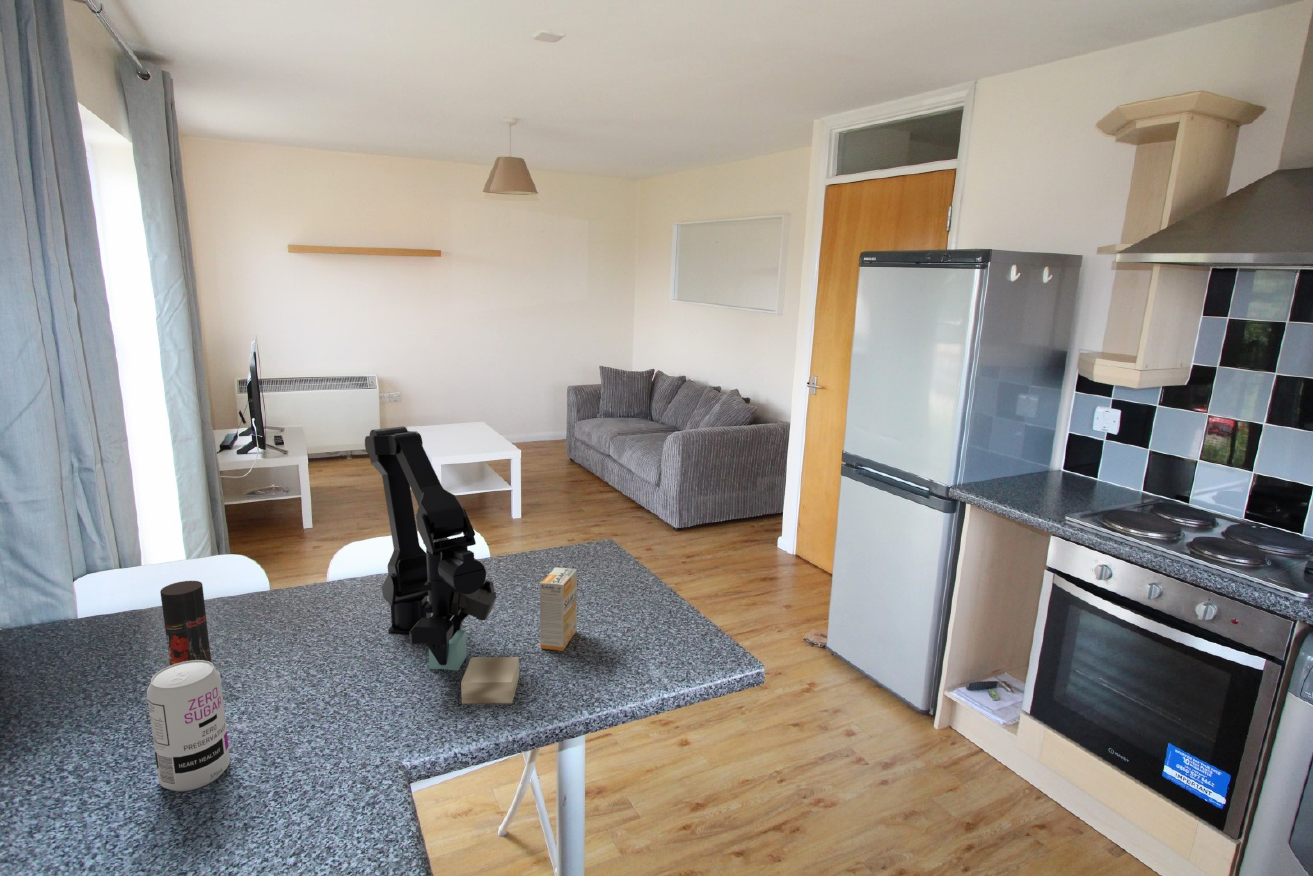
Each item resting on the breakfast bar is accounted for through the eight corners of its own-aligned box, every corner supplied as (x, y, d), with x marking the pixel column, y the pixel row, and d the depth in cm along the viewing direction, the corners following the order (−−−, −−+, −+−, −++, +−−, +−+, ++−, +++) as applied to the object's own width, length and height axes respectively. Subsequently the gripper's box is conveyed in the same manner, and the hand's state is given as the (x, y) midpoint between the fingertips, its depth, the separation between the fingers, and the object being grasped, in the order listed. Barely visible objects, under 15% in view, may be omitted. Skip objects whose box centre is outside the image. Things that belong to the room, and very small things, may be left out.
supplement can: (180, 756, 102) (167, 658, 99) (241, 754, 102) (231, 657, 99) (145, 796, 94) (130, 691, 91) (212, 793, 94) (199, 689, 91)
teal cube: (429, 669, 126) (428, 642, 125) (439, 654, 131) (438, 629, 130) (457, 670, 126) (456, 644, 125) (466, 656, 130) (465, 630, 129)
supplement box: (564, 652, 133) (563, 585, 130) (539, 649, 134) (538, 582, 131) (578, 631, 141) (577, 568, 138) (554, 629, 141) (553, 566, 139)
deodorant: (219, 665, 126) (210, 584, 123) (185, 681, 121) (174, 597, 117) (197, 657, 128) (187, 578, 125) (163, 673, 123) (152, 590, 120)
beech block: (462, 705, 116) (461, 682, 115) (472, 678, 124) (471, 657, 123) (512, 704, 116) (511, 682, 115) (519, 678, 124) (518, 657, 123)
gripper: (474, 599, 115) (477, 687, 118) (504, 556, 133) (506, 634, 137) (405, 596, 116) (410, 684, 119) (445, 554, 134) (448, 632, 137)
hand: (448, 657), depth 128 cm, fingers closed on teal cube, 5 cm apart
